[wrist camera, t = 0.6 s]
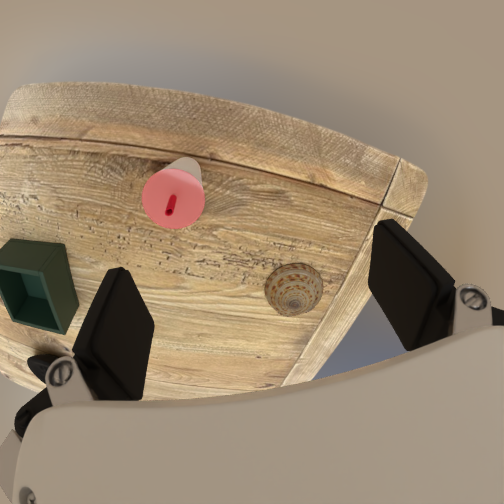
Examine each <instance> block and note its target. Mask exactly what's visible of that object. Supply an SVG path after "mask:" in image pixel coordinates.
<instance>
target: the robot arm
mask: <svg viewBox="0 0 504 504" xmlns="http://www.w3.org/2000/svg"><path fill="white" fill-rule="evenodd" d="M454 283H455V280H454V279H453V278H452V277H451V276H450V274H449V273H447V271H446V270H445V269H444V268H443V267H442V266H441V265H440V264H439V263H438V262H437V261H436V260H435V259H434V258H433V257H432V256H431V255H430V254H429V253H428V252H427V251H426V250H425V249H424V248H423V247H422V246H421V245H420V244H419V243H418V242H417V241H416V240H415V239H414V238H413V237H412V236H411V235H410V234H409V233H408V232H407V231H406V230H405V229H404V228H403V227H401V226H400V225H399V224H398V223H397V222H396V221H395V220H394V219H387V220H381V221H379V222H378V223H377V225H375V226H374V231H373V242H372V252H371V261H370V269H369V277H368V286H369V289H370V291H371V292H372V294H373V296H374V297H375V299H376V300H377V302H378V303H379V305H380V307H381V308H382V310H383V312H384V313H385V315H386V317H387V318H388V320H389V322H390V323H391V325H392V327H393V329H394V330H395V332H396V334H397V335H398V337H399V339H400V341H401V342H402V344H403V346H404V348H405V349H406V350H407V351H410V352H407V353H404V354H401V355H399V356H396V357H393V358H390V359H387V360H384V361H381V362H378V363H375V364H372V365H368V366H366V367H362V368H359V369H355V370H351V371H348V372H344V373H341V374H337V375H333V376H329V377H325V378H321V379H317V380H312V381H308V382H303V383H299V384H294V385H289V386H284V387H278V388H273V389H267V390H261V391H255V392H248V393H241V394H233V395H225V396H216V397H206V398H194V399H179V400H153V401H139V400H141V399H142V397H143V390H144V384H145V377H146V371H147V365H148V360H149V354H150V349H151V343H152V338H153V333H154V321H153V318H152V317H151V315H150V313H149V311H148V309H147V307H146V305H145V303H144V301H143V299H142V297H141V295H140V293H139V291H138V289H137V287H136V285H135V283H134V280H133V278H132V276H131V274H130V272H129V271H128V270H125V269H124V268H123V267H119V268H113V269H109V270H108V271H107V273H106V275H105V277H104V279H103V281H102V283H101V285H100V287H99V289H98V291H97V293H96V295H95V297H94V299H93V302H92V304H91V306H90V308H89V310H88V313H87V315H86V317H85V319H84V322H83V324H82V326H81V329H80V331H79V333H78V336H77V338H76V341H75V343H74V346H73V348H72V351H73V352H74V353H75V355H74V357H73V358H72V357H70V356H64V357H60V358H58V359H56V360H55V361H54V362H53V363H52V364H51V365H50V367H49V368H48V370H47V372H46V377H45V381H46V386H47V387H46V388H45V389H43V390H42V391H41V392H40V393H39V394H37V395H36V396H35V397H34V398H32V399H31V400H30V401H29V402H27V403H26V404H25V405H24V406H22V407H21V409H20V410H19V411H18V412H17V414H16V417H15V423H14V425H15V430H16V431H14V430H13V429H12V430H11V432H10V433H9V435H8V436H7V437H6V439H5V441H4V442H3V443H2V445H1V446H0V486H1V487H2V489H3V491H4V492H5V494H6V496H7V497H8V499H9V500H10V502H11V503H12V504H504V311H503V310H500V309H497V308H494V307H491V301H490V298H489V296H488V294H487V293H486V292H485V291H484V290H483V289H481V288H480V287H478V286H476V285H473V284H462V285H461V286H459V287H458V288H457V289H456V288H455V287H454Z"/></svg>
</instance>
